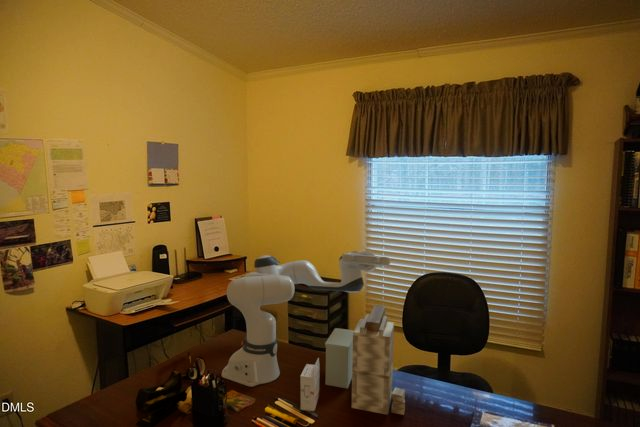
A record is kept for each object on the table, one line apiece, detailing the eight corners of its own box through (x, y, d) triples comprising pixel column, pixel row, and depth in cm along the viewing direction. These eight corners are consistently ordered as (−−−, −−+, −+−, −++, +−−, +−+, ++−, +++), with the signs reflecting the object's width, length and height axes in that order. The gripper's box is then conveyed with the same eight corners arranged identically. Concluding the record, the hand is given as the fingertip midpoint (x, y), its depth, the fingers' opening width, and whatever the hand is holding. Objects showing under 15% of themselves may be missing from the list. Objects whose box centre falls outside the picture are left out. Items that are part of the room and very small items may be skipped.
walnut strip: (366, 330, 121) (366, 321, 121) (374, 312, 138) (374, 304, 138) (378, 331, 120) (378, 323, 120) (385, 313, 137) (385, 305, 137)
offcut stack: (391, 412, 119) (391, 395, 118) (392, 403, 124) (393, 386, 123) (404, 415, 118) (405, 397, 117) (405, 406, 123) (406, 389, 122)
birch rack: (351, 407, 121) (353, 326, 119) (358, 387, 134) (360, 313, 131) (387, 414, 118) (390, 331, 116) (391, 392, 130) (394, 316, 128)
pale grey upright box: (324, 384, 135) (325, 343, 134) (334, 365, 149) (335, 327, 148) (348, 389, 132) (348, 346, 131) (356, 369, 147) (357, 330, 145)
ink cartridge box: (305, 395, 128) (306, 355, 127) (319, 397, 127) (320, 356, 126) (299, 410, 120) (299, 367, 119) (314, 412, 119) (314, 368, 118)
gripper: (390, 270, 159) (389, 268, 146) (343, 266, 164) (339, 264, 151) (390, 255, 161) (390, 252, 147) (345, 252, 165) (340, 249, 152)
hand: (364, 258), depth 149 cm, fingers open, 8 cm apart
